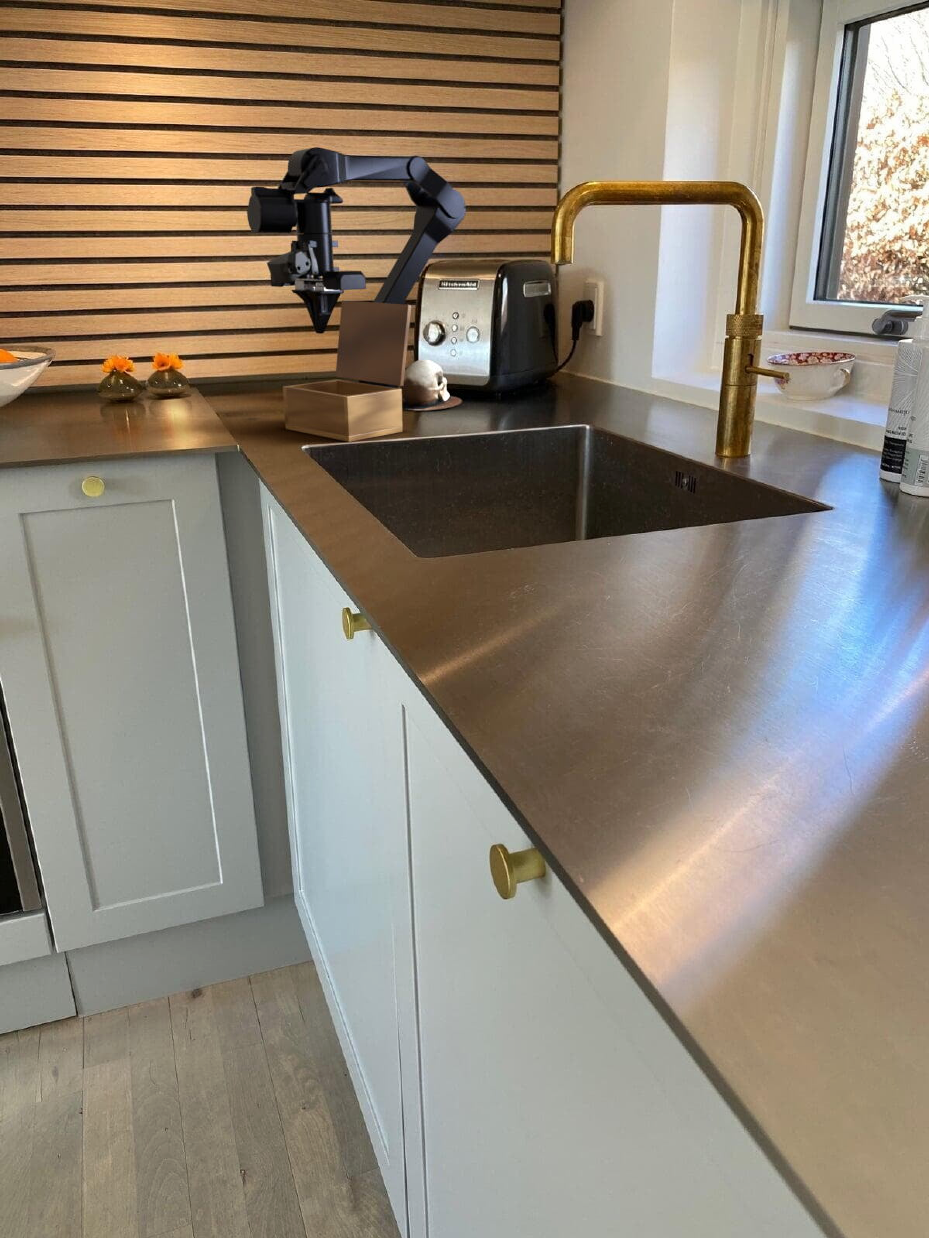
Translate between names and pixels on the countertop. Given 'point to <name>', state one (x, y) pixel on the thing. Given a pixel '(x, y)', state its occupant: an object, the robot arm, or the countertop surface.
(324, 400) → the chest
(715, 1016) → the countertop surface
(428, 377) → the skull
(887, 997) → the countertop surface
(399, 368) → the lid
